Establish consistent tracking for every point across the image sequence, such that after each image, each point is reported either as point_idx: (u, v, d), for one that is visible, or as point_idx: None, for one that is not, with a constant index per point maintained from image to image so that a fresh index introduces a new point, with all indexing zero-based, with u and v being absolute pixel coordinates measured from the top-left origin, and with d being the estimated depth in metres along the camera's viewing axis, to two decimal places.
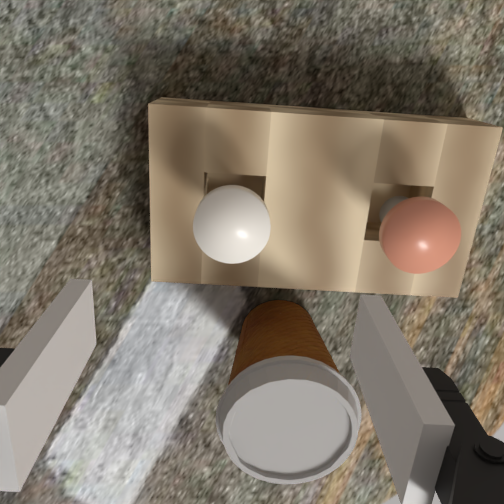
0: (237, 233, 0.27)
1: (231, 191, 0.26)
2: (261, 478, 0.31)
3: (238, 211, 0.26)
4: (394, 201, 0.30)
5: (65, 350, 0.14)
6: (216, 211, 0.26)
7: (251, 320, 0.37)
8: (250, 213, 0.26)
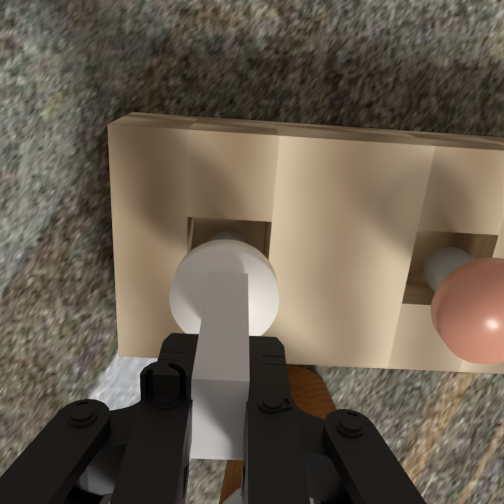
0: None
1: (223, 251, 0.18)
2: None
3: None
4: (446, 255, 0.22)
5: None
6: (202, 279, 0.18)
7: None
8: (250, 280, 0.18)
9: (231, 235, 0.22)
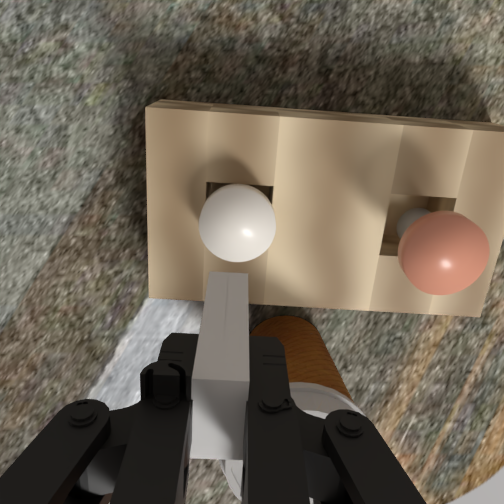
0: (243, 232, 0.27)
1: (237, 190, 0.26)
2: None
3: (243, 209, 0.26)
4: (413, 213, 0.28)
5: None
6: (222, 210, 0.26)
7: None
8: (255, 211, 0.26)
9: None
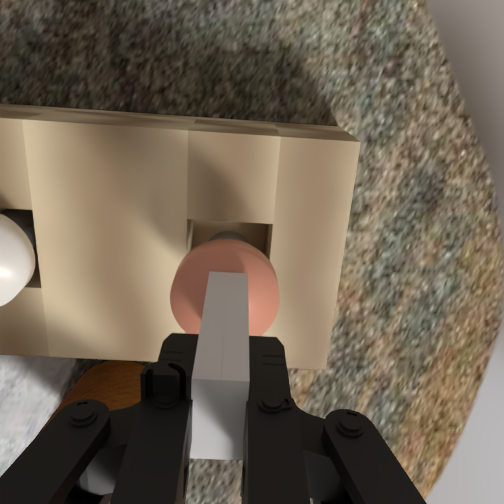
0: None
1: None
2: None
3: None
4: (216, 239, 0.22)
5: None
6: None
7: (71, 391, 0.28)
8: None
9: None
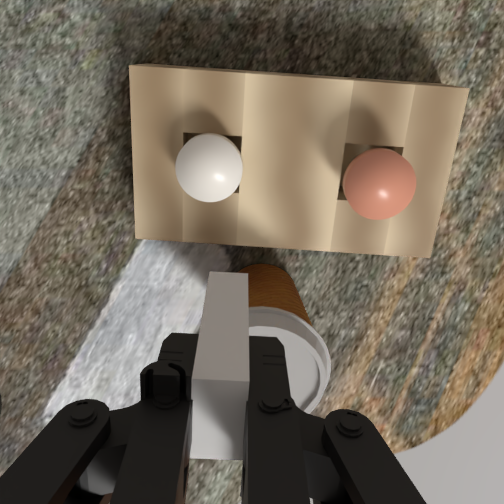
0: (213, 174, 0.31)
1: (207, 136, 0.30)
2: None
3: (213, 154, 0.30)
4: None
5: None
6: (195, 154, 0.30)
7: None
8: (224, 156, 0.30)
9: None
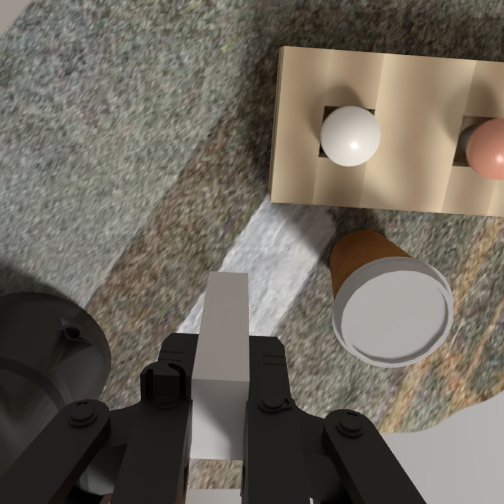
0: (355, 141, 0.35)
1: (354, 108, 0.34)
2: (369, 362, 0.37)
3: (357, 123, 0.35)
4: (473, 127, 0.38)
5: None
6: (341, 124, 0.35)
7: (344, 244, 0.44)
8: (366, 125, 0.35)
9: None
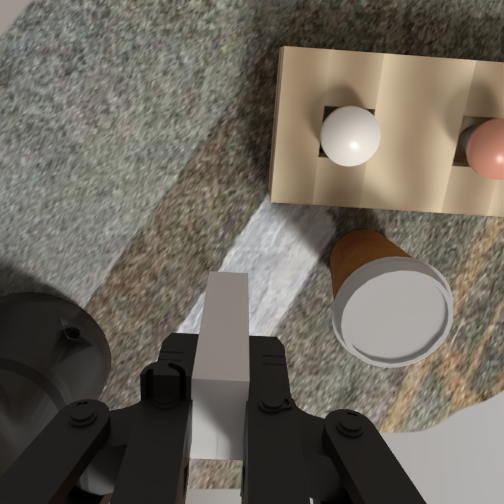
0: (355, 141, 0.35)
1: (354, 108, 0.34)
2: (368, 362, 0.37)
3: (357, 123, 0.35)
4: (473, 127, 0.38)
5: None
6: (341, 124, 0.35)
7: (344, 244, 0.44)
8: (366, 125, 0.35)
9: None
